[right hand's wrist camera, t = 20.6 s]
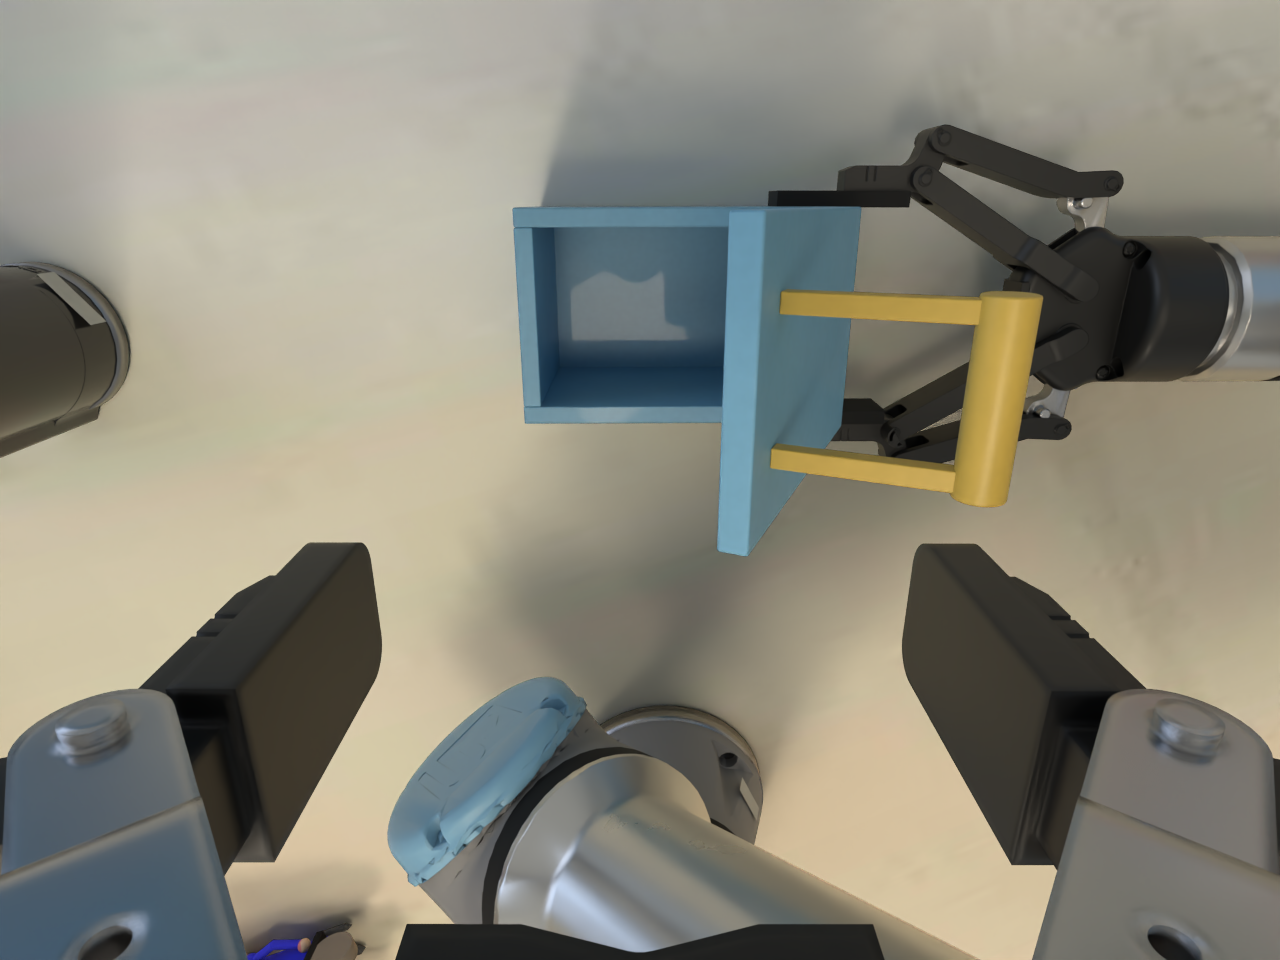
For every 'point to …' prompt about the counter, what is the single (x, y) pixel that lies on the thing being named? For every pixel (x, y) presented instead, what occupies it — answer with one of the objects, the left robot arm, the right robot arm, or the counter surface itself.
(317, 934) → the figurine character
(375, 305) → the counter surface
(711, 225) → the chest
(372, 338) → the counter surface
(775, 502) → the lid
